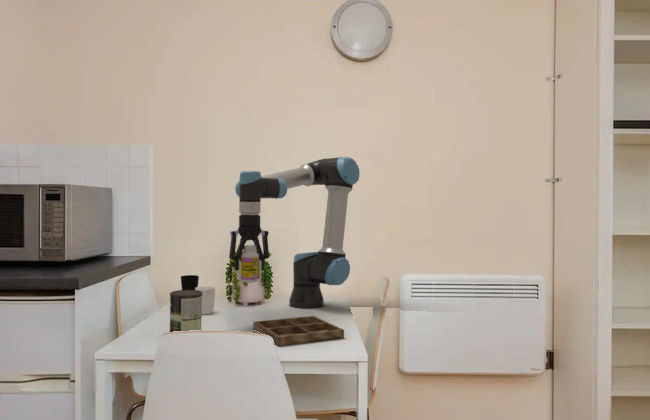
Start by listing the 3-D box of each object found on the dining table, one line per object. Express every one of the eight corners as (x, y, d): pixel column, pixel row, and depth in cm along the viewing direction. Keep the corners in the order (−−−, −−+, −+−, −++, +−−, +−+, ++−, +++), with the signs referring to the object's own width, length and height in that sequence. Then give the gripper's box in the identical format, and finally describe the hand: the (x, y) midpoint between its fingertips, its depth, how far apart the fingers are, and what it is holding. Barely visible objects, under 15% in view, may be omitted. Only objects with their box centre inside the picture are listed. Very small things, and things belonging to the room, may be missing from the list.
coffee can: (164, 338, 157) (165, 294, 157) (175, 330, 167) (176, 289, 167) (196, 339, 157) (197, 295, 157) (205, 331, 167) (206, 290, 167)
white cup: (200, 315, 191) (200, 290, 191) (191, 312, 197) (191, 287, 197) (218, 313, 196) (218, 288, 196) (209, 310, 202) (209, 285, 202)
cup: (190, 301, 220) (191, 274, 220) (202, 303, 216) (202, 276, 216) (176, 303, 214) (177, 276, 214) (188, 306, 210) (188, 278, 210)
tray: (313, 323, 181) (313, 315, 181) (343, 338, 160) (344, 329, 160) (253, 329, 170) (253, 321, 170) (278, 346, 150) (278, 337, 150)
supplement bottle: (239, 283, 171) (240, 246, 171) (239, 280, 178) (239, 244, 178) (259, 282, 173) (259, 246, 173) (257, 280, 179) (258, 244, 179)
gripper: (225, 214, 167) (224, 281, 167) (279, 214, 176) (278, 278, 176) (219, 214, 174) (219, 278, 174) (272, 214, 183) (271, 276, 183)
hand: (249, 278), depth 175 cm, fingers closed on supplement bottle, 7 cm apart
